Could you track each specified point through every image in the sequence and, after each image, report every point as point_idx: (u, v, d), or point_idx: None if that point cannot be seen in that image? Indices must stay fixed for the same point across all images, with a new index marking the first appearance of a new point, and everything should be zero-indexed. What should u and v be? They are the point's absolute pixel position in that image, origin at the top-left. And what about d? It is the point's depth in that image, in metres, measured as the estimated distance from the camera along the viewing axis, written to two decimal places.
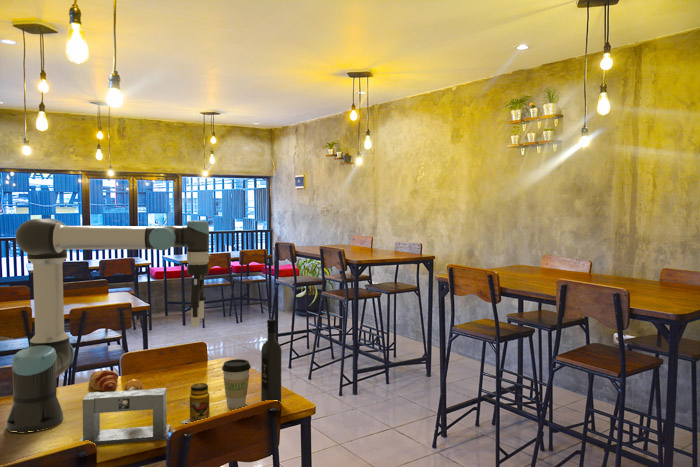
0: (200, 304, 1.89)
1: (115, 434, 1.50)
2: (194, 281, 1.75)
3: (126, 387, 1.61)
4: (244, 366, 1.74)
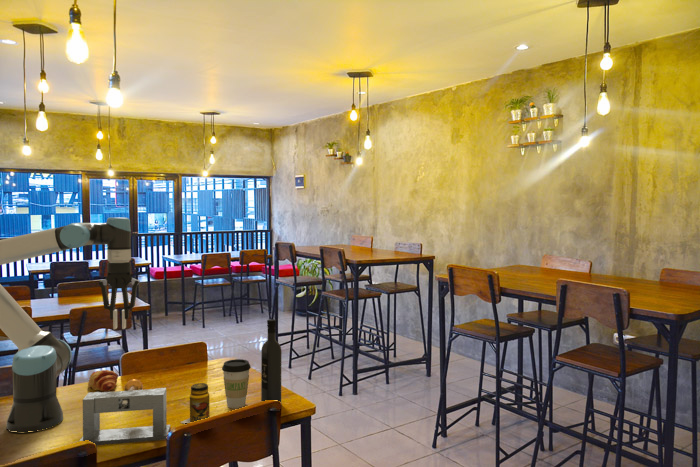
0: None
1: (115, 434, 1.50)
2: None
3: (126, 387, 1.61)
4: (244, 366, 1.74)
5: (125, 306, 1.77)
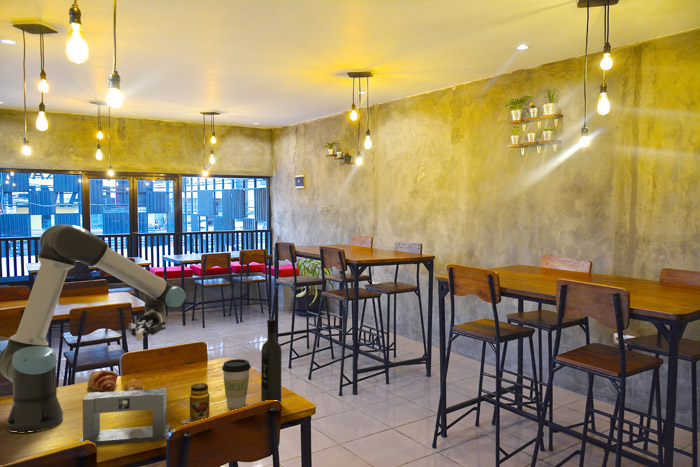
0: None
1: (115, 434, 1.50)
2: (129, 328, 1.84)
3: (126, 387, 1.61)
4: (244, 366, 1.74)
5: None
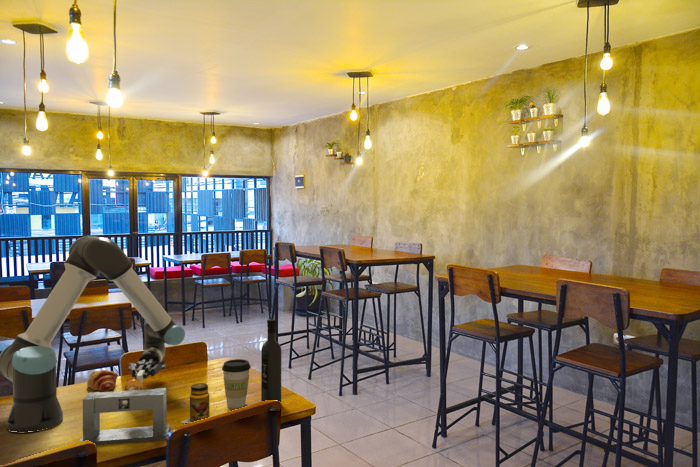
0: None
1: (115, 434, 1.50)
2: (129, 368, 1.84)
3: (126, 387, 1.61)
4: (244, 366, 1.74)
5: None
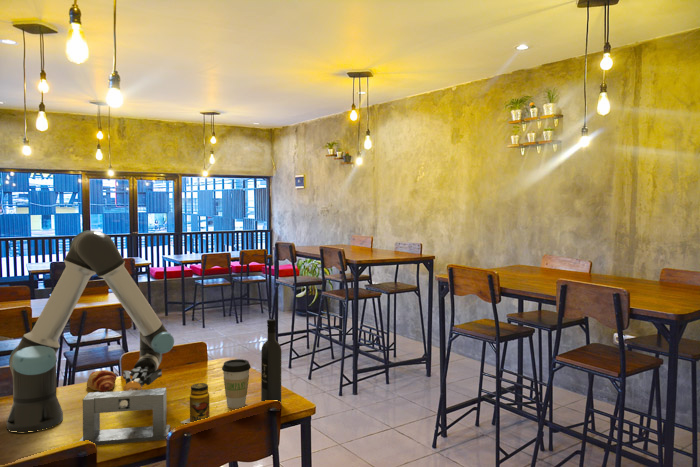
0: None
1: (115, 434, 1.50)
2: (123, 376, 1.75)
3: (125, 389, 1.59)
4: (244, 366, 1.74)
5: None
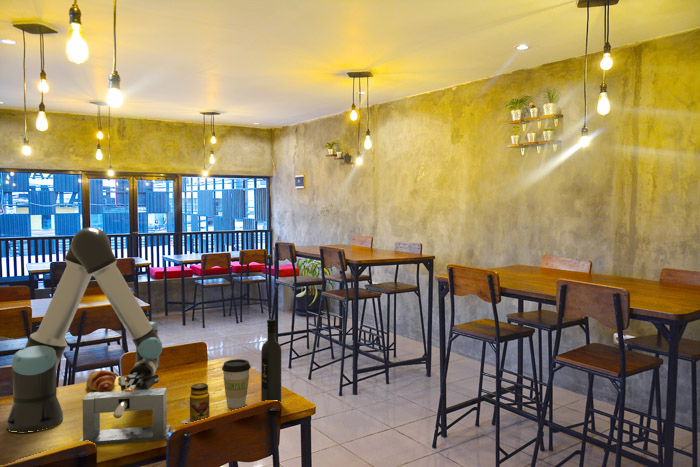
0: None
1: (115, 434, 1.50)
2: (118, 382, 1.68)
3: None
4: (244, 366, 1.74)
5: None
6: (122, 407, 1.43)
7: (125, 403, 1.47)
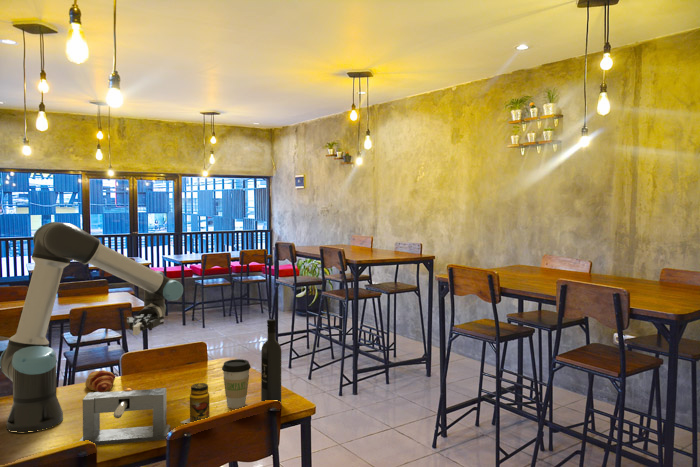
0: None
1: (115, 434, 1.50)
2: (127, 322, 1.82)
3: None
4: (244, 366, 1.74)
5: None
6: (122, 407, 1.43)
7: (125, 403, 1.47)
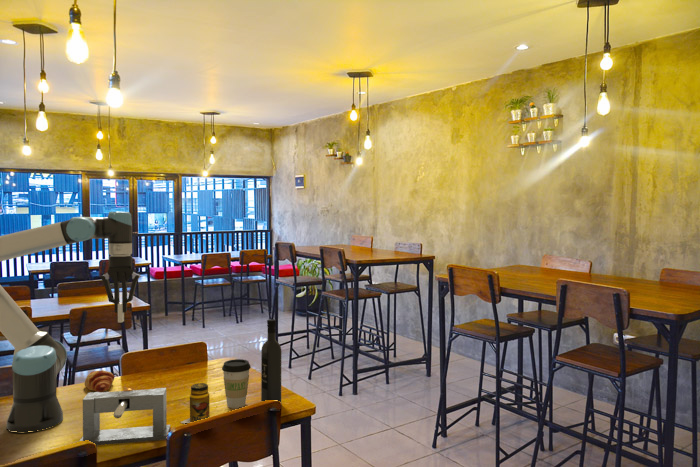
0: None
1: (115, 434, 1.50)
2: None
3: None
4: (244, 366, 1.74)
5: (123, 300, 1.78)
6: (122, 407, 1.43)
7: (125, 403, 1.47)
